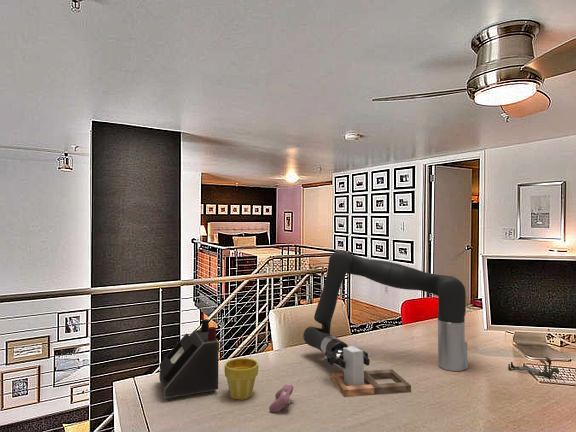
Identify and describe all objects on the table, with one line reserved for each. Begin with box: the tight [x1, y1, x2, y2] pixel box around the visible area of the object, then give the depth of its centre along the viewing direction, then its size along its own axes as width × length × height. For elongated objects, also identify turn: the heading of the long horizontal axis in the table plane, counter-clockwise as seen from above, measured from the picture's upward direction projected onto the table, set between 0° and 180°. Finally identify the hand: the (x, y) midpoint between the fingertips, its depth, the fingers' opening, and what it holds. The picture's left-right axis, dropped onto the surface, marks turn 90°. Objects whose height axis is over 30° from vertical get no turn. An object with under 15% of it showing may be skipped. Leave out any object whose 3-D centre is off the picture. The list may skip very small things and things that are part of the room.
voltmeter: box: [158, 319, 220, 401], centre depth 126 cm, size 16×16×20 cm
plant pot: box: [224, 357, 259, 401], centre depth 121 cm, size 10×10×10 cm
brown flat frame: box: [331, 369, 412, 397], centre depth 129 cm, size 22×14×2 cm, turn 99°
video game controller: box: [268, 383, 295, 413], centre depth 114 cm, size 10×5×7 cm, turn 170°
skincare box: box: [343, 345, 365, 386], centre depth 128 cm, size 6×4×12 cm
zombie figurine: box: [507, 356, 560, 378], centre depth 139 cm, size 5×7×15 cm
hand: (356, 363), depth 126 cm, fingers open, 8 cm apart
